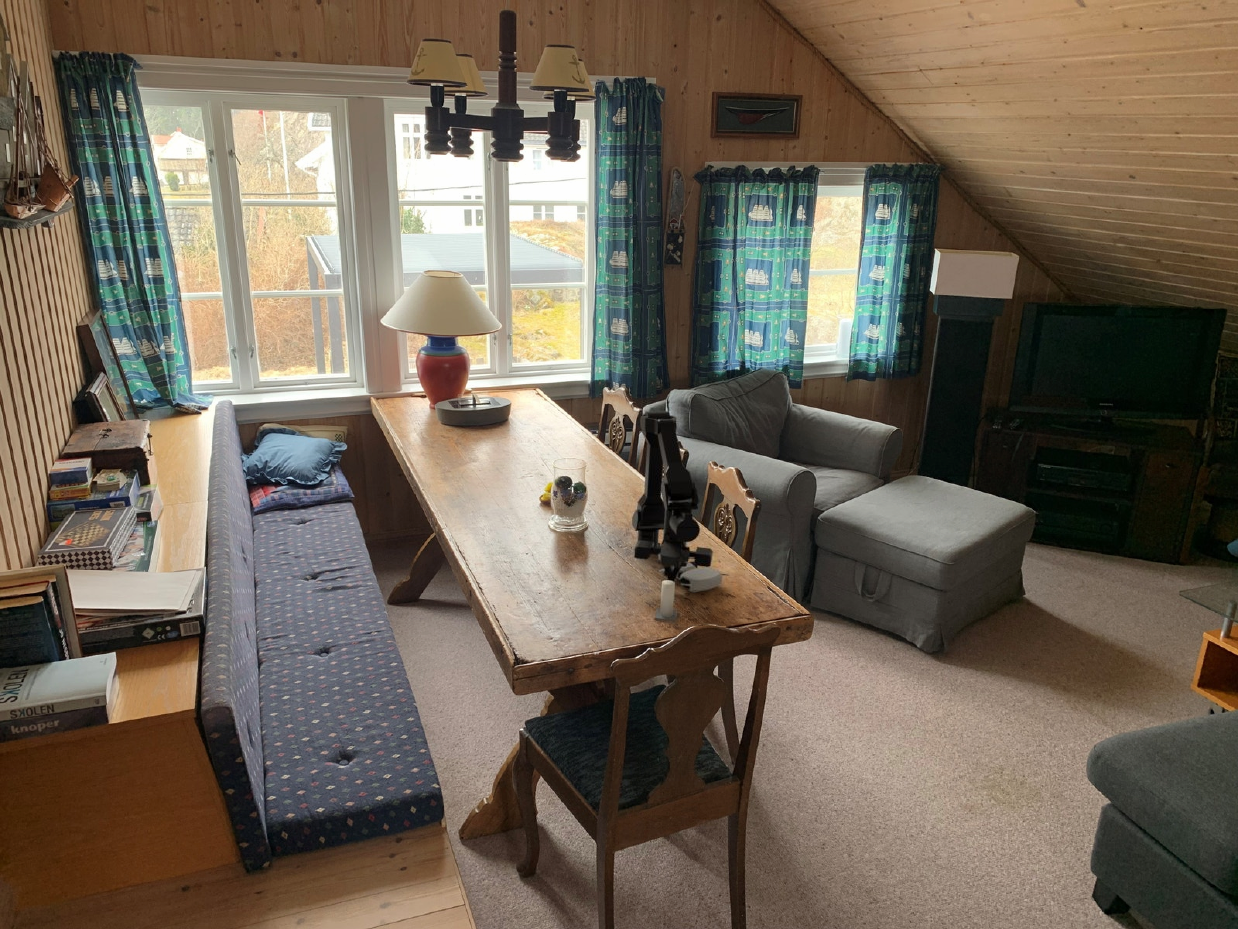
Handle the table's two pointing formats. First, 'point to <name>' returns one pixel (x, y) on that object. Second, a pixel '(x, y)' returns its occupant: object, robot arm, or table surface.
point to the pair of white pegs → (667, 602)
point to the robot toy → (697, 577)
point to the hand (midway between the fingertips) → (671, 585)
